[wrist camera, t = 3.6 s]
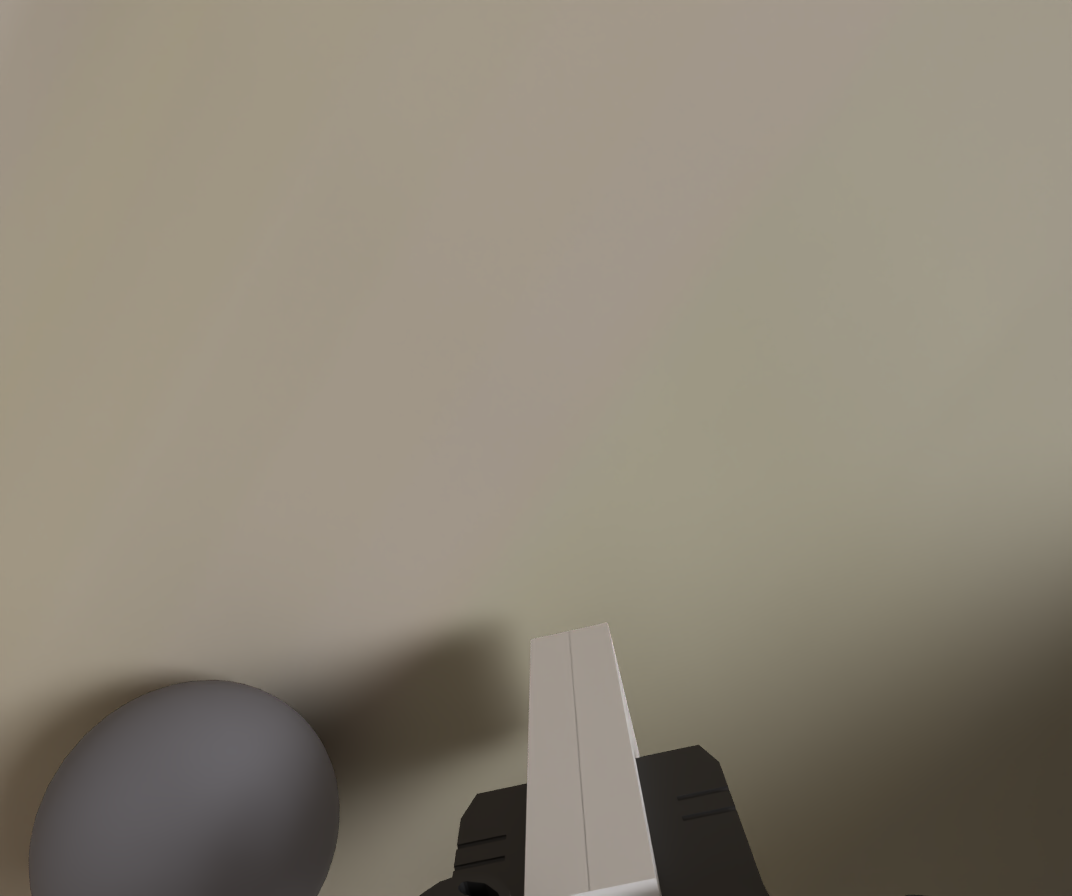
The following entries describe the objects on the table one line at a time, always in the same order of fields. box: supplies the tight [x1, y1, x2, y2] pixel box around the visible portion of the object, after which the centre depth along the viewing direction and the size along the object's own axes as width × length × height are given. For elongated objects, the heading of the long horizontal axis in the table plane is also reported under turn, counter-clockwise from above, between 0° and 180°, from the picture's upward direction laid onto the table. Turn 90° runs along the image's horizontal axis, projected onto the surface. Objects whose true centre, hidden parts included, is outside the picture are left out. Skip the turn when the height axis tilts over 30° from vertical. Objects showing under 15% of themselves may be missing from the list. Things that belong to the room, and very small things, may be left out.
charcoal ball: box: [29, 680, 340, 896], centre depth 16 cm, size 6×6×6 cm
